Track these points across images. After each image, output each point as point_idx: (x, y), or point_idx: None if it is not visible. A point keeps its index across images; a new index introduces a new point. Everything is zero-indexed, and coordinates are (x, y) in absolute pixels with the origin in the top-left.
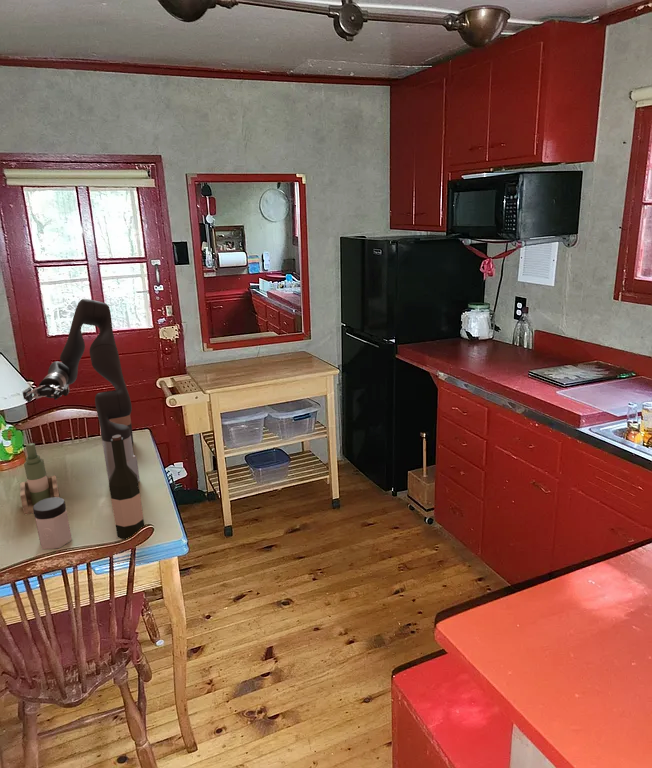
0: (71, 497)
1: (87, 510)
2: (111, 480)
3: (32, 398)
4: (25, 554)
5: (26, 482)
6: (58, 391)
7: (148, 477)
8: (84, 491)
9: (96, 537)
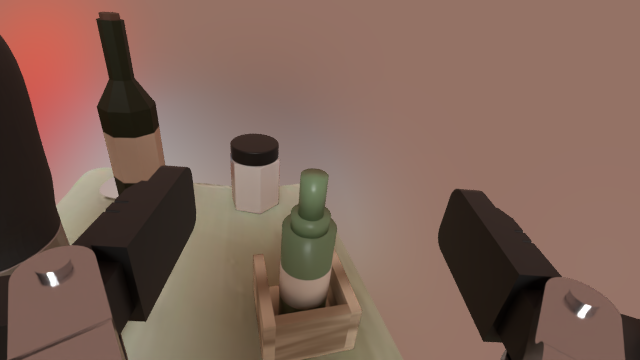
0: (227, 329)
1: (197, 261)
2: (148, 95)
3: (484, 331)
4: (293, 190)
5: (343, 306)
6: (86, 264)
7: None
8: (188, 354)
9: (197, 194)
